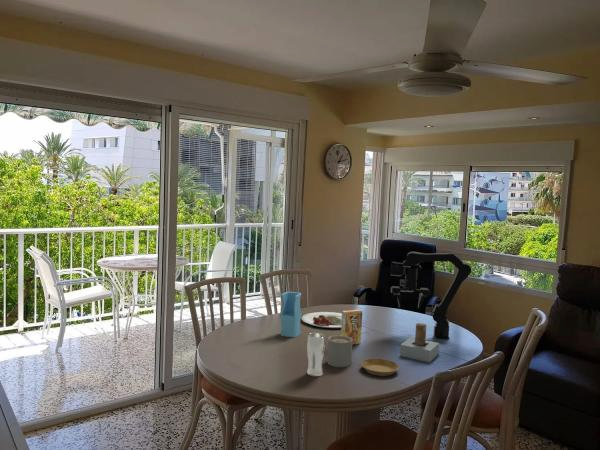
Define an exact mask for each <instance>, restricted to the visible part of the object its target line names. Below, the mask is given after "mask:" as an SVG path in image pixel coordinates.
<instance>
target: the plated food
mask: <svg viewBox="0 0 600 450" xmlns="http://www.w3.org/2000/svg"><path fill="white" fill-rule="evenodd" d="M301 320H302V322H304V323H306V324H308V325H310V326H314V327H318V328H324V329H341V322H342V312H333V311H331V312H330V311H318V312H317V311H316V312H315V311H314V312H310V313H305V314H304V315H302V316H301Z"/></svg>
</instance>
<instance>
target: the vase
mask: <svg viewBox="0 0 600 450" xmlns="http://www.w3.org/2000/svg"><path fill="white" fill-rule="evenodd" d="M280 296H281V300H282V308H281V313H280V315H279V316H280V318H279V319H280V323H281V331H280V332H281V333H280V336H281V337H288V338H296V337H298V336H299V335H301V334H302V331H301V320H302V316H303V315H302V314H303V313H302V310H301V306H300V303H301V301H300V300H301V297H302V293H301V292H295V291H286V292H283V293H281V295H280Z"/></svg>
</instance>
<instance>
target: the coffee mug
mask: <svg viewBox="0 0 600 450" xmlns="http://www.w3.org/2000/svg"><path fill="white" fill-rule="evenodd" d="M352 342H353V340H352V338H350V337H348V336H342V335H341V334H339V335H338V334H337V335H334V334H333V335H330V336H329V337H328V338H327V354H326V355H327V358H326V363H327V364H328V365H329V366H331V367H336V368H347V367H350V366H351V365H352V361H353V360H352V359H353V344H352Z"/></svg>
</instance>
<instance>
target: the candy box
mask: <svg viewBox="0 0 600 450" xmlns="http://www.w3.org/2000/svg"><path fill="white" fill-rule="evenodd" d="M341 314H342V322H341V328H340V335H342V336H348V337H350V338H352V340H353V342H352V345H359V344H360V345H361V344H362V328H363V327H362V325H363V311H362V310H360V309H349V310H342V311H341Z"/></svg>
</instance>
